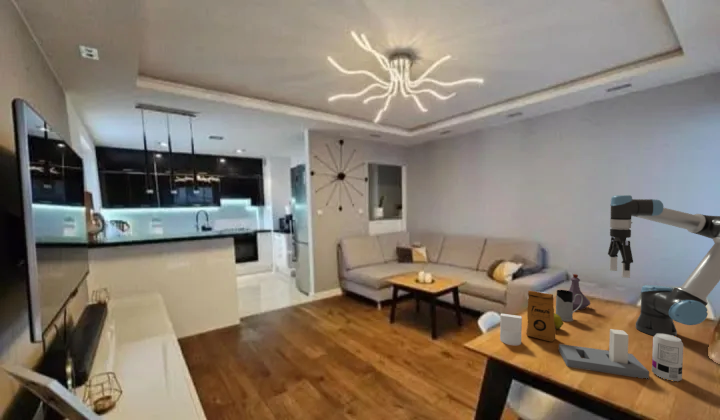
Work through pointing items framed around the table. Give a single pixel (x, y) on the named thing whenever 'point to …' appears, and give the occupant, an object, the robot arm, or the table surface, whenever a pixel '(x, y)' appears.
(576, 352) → the socket plate
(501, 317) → the white piece
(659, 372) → the supplement can
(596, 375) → the table surface
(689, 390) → the table surface
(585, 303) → the flask
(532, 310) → the coffee package
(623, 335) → the square peg
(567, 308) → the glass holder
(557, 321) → the lemon
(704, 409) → the table surface
